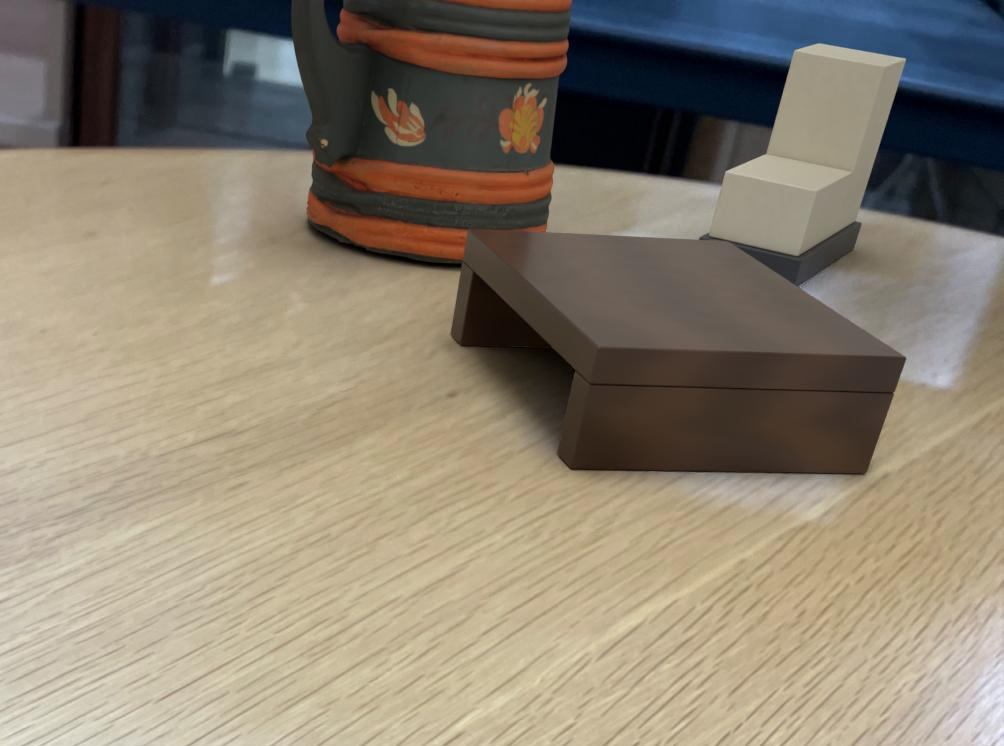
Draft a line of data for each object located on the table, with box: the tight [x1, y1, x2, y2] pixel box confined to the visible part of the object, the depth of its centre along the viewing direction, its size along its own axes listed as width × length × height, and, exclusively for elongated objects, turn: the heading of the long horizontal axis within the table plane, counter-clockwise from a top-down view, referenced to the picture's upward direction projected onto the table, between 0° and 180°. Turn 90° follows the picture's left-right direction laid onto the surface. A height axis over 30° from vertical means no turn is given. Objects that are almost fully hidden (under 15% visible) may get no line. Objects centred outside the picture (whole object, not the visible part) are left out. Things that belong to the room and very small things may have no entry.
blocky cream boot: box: [698, 42, 907, 287], centre depth 93 cm, size 14×6×11 cm, turn 148°
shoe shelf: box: [450, 228, 907, 474], centre depth 71 cm, size 14×18×5 cm
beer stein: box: [290, 0, 573, 264], centre depth 85 cm, size 19×15×20 cm
